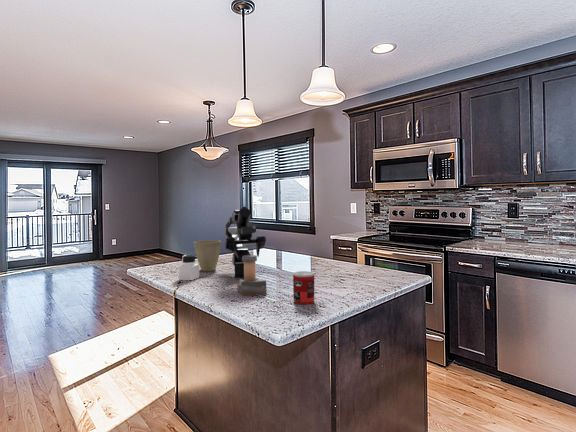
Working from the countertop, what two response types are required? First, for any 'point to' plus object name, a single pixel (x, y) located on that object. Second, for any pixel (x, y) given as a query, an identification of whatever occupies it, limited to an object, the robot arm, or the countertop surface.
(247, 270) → the orange jar
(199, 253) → the plant pot
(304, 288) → the canned food
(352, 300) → the countertop surface
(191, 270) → the medicine bottle
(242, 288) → the mount
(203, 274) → the countertop surface
